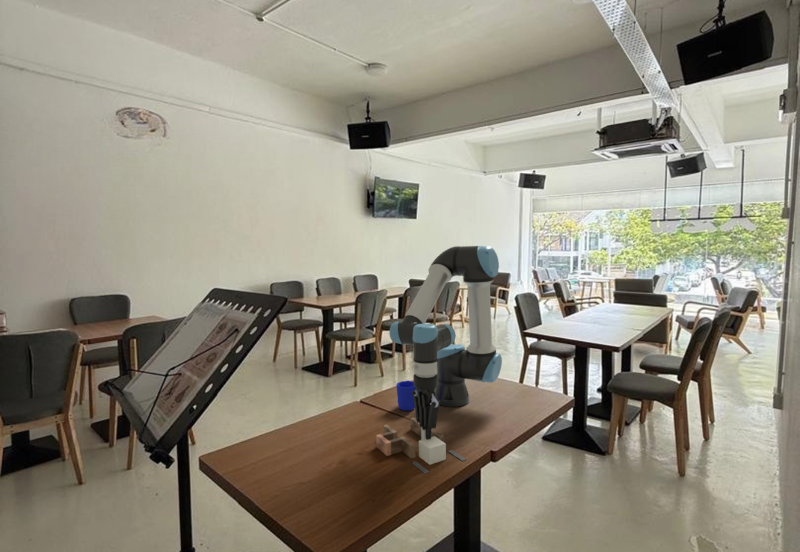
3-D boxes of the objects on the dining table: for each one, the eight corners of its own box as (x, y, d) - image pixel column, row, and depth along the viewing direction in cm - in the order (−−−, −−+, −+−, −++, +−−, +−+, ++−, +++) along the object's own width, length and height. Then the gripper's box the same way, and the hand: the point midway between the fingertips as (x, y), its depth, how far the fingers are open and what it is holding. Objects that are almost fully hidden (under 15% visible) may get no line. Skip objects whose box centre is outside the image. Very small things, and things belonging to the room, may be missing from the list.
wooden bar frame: (369, 440, 145) (368, 429, 145) (414, 428, 154) (414, 417, 154) (395, 463, 129) (395, 450, 129) (444, 448, 138) (444, 436, 138)
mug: (418, 401, 180) (418, 378, 180) (416, 412, 168) (416, 387, 168) (398, 401, 181) (398, 377, 180) (395, 412, 169) (395, 387, 168)
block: (418, 456, 134) (418, 440, 133) (434, 451, 137) (434, 436, 136) (429, 464, 128) (429, 448, 128) (445, 459, 131) (445, 443, 131)
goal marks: (412, 463, 129) (412, 462, 129) (452, 450, 137) (452, 449, 137) (425, 473, 123) (425, 473, 123) (466, 459, 131) (466, 459, 131)
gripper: (404, 370, 138) (405, 442, 140) (427, 381, 127) (427, 459, 128) (424, 367, 142) (424, 436, 143) (447, 377, 130) (448, 452, 132)
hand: (426, 447), depth 136 cm, fingers closed
